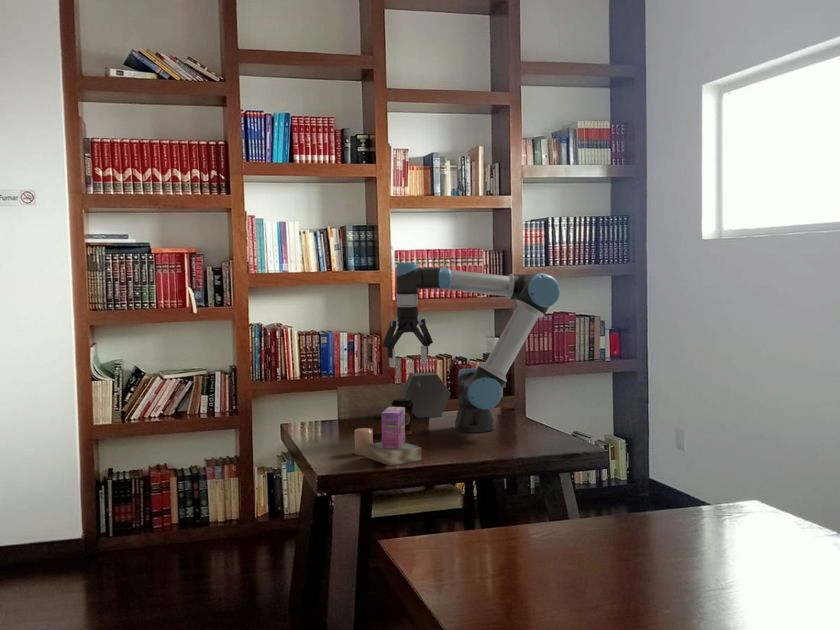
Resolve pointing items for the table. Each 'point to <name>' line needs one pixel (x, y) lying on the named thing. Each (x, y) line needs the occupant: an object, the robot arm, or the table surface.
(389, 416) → the box
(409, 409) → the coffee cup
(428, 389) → the dark grey hexagonal block
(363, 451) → the tan capsule cylinder
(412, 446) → the mirror
